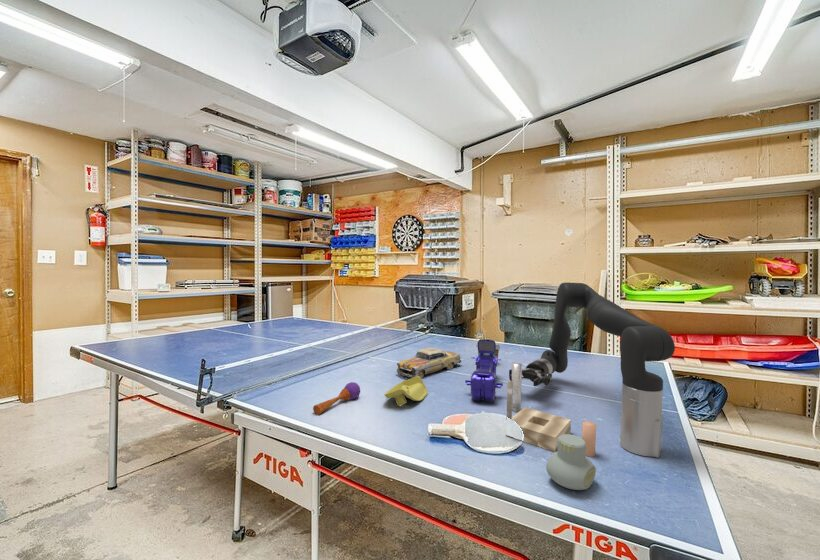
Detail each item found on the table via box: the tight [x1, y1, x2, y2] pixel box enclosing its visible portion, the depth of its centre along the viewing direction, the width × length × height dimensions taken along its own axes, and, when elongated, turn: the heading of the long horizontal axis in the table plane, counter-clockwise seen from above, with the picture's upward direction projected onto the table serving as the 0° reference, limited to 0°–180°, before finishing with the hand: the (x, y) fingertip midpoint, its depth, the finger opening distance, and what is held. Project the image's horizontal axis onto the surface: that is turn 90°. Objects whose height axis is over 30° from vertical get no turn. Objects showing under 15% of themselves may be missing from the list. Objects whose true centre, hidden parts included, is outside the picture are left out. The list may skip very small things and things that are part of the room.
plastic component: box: [383, 376, 429, 407], centre depth 133 cm, size 20×7×10 cm
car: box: [396, 347, 462, 380], centre depth 167 cm, size 12×34×10 cm, turn 134°
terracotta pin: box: [581, 420, 597, 458], centre depth 96 cm, size 3×3×8 cm
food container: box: [476, 341, 501, 362], centre depth 178 cm, size 12×6×10 cm, turn 47°
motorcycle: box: [464, 339, 504, 403], centre depth 144 cm, size 35×14×18 cm, turn 166°
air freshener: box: [545, 433, 597, 491], centre depth 84 cm, size 11×8×10 cm
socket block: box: [506, 380, 572, 453], centre depth 106 cm, size 14×14×16 cm
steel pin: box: [511, 361, 523, 413], centre depth 123 cm, size 3×3×16 cm
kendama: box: [312, 381, 361, 416], centre depth 128 cm, size 6×6×20 cm
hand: (522, 380), depth 127 cm, fingers open, 8 cm apart
